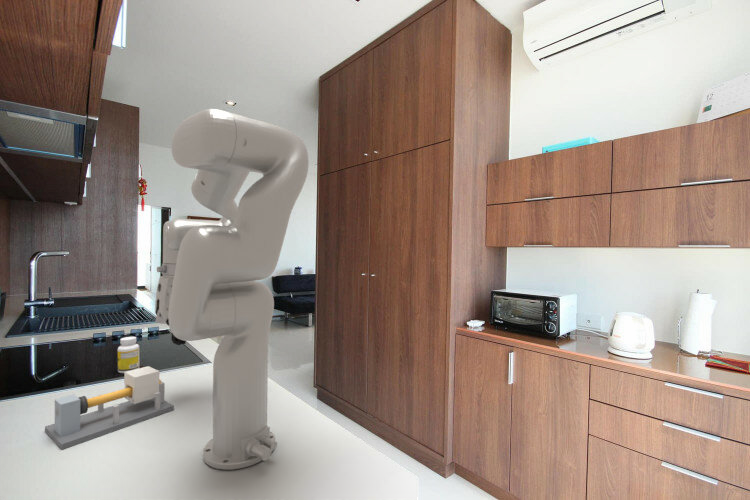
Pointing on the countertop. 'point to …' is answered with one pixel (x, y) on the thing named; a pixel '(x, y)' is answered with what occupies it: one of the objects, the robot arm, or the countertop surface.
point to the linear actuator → (101, 415)
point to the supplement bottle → (128, 355)
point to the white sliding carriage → (142, 383)
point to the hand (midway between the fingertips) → (179, 343)
